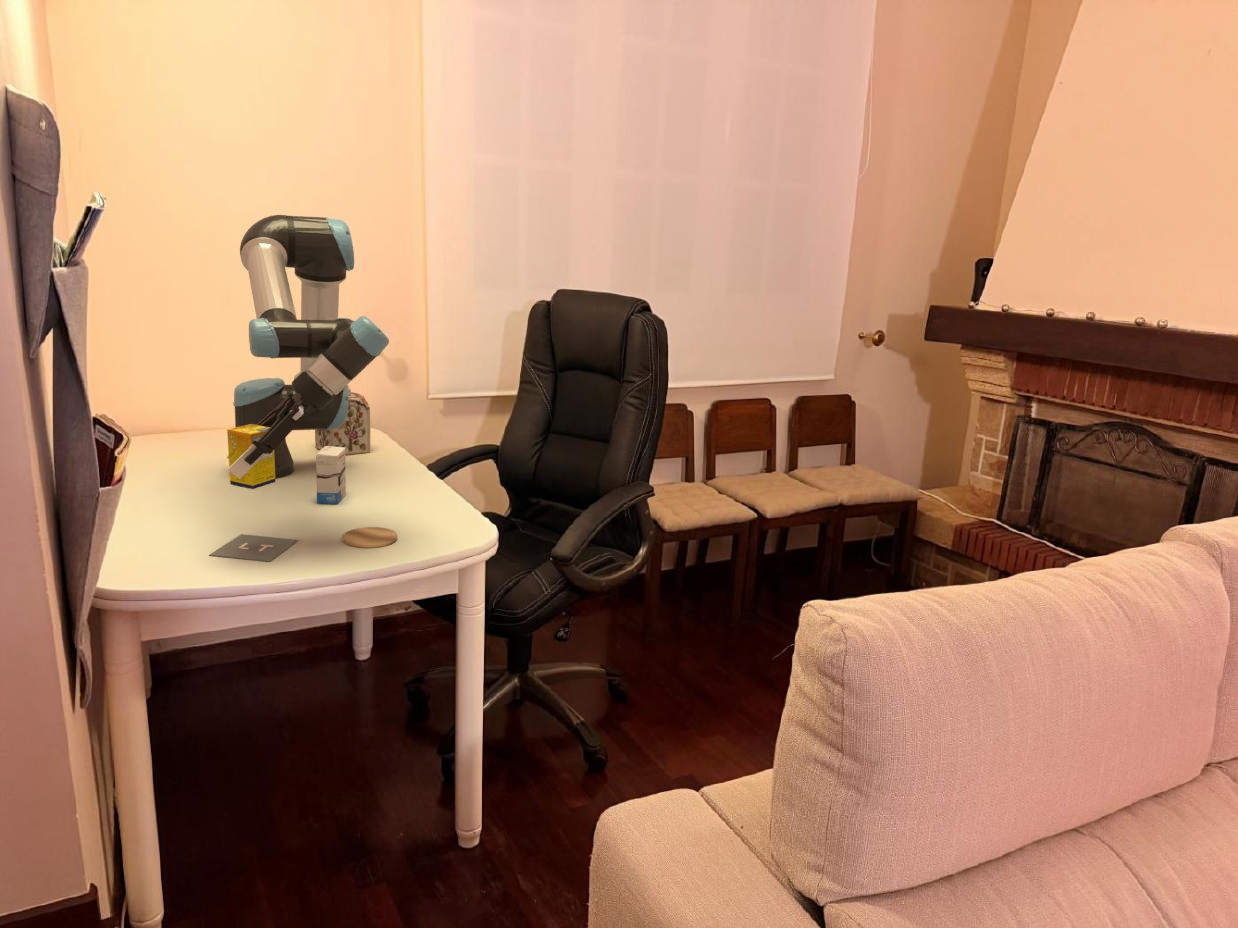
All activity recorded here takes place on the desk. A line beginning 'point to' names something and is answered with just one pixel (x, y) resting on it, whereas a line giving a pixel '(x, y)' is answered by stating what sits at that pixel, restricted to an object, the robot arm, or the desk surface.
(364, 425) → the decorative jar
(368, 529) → the coaster
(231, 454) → the supplement box
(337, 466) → the ink box
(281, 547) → the grey flat square slab
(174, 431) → the desk surface
